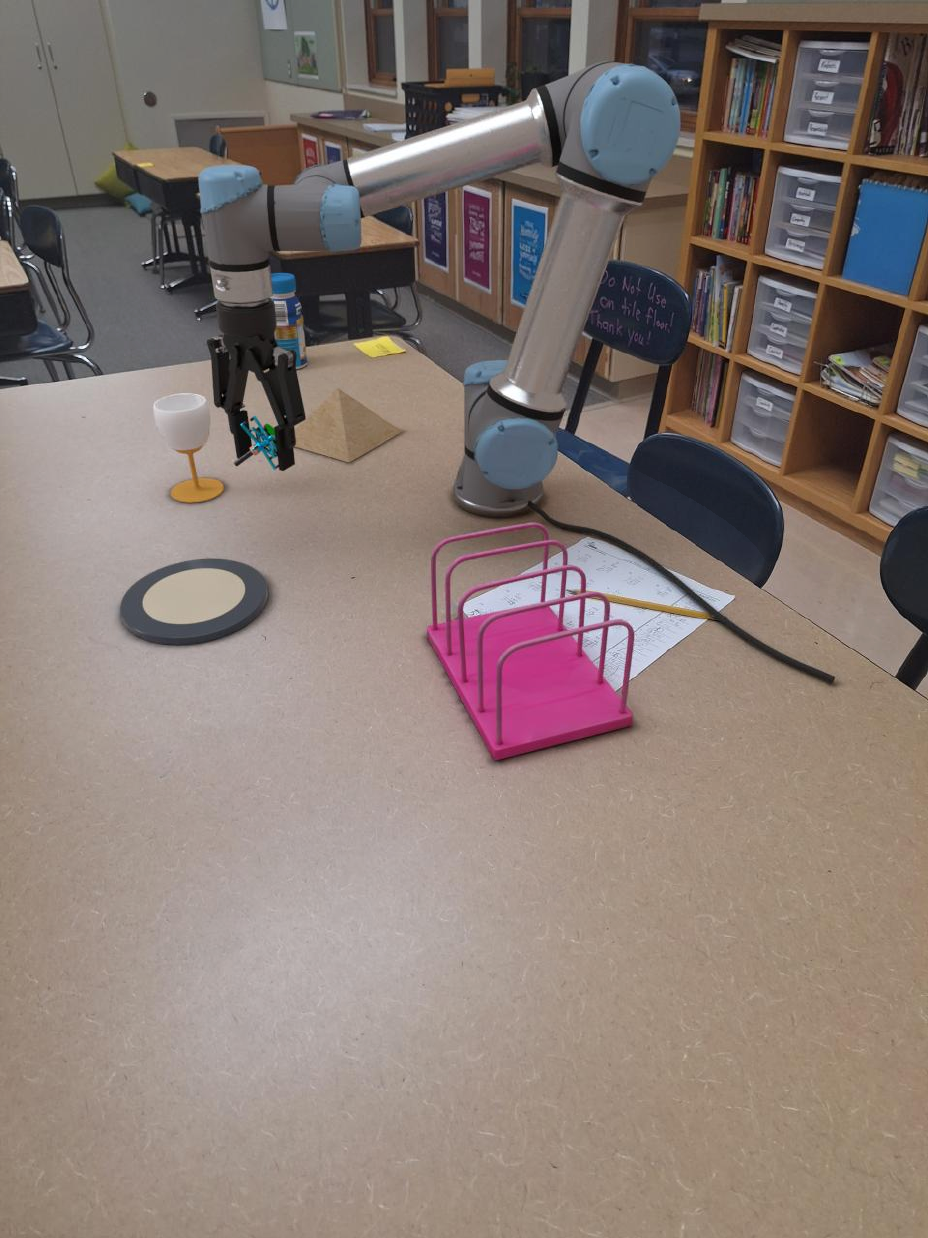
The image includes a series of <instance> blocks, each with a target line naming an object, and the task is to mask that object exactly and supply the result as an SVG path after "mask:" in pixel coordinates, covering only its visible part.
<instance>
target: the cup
mask: <svg viewBox="0 0 928 1238" xmlns="http://www.w3.org/2000/svg"><path fill="white" fill-rule="evenodd" d="M152 409H153V419H154V422H155V425H156V429H157V431H158V432H159V433H160V436H161V438H162V439H163V440H164V442H165V444H167V446H168V447H170V449H172V450H174V451H175V452H177V453H179V454H181V455H182V454H184V455H187V458H188V463H189V467H190V473H191V477H192V479H188V480H184V481H182V482H180V483H177V484H176V485H175V486H173V487H172V489H170V496H171V497H172V498H173V500H175V501H178V502H180V503H187V504H197V503H205V502H206V501H211V500H213V499H215V498H217V497H219V496H221V494H222V493H223V492H224V490H225V485H224V483H223V482H222V481H220V480H217V479H214V478H208V477H207V478H206V477H200V478H199V477H198V473H197V469H196V463H195V458H194V454H195V453H197V452H199V451H201V449H202V448H203V447H204V446H205V445H207V442H208V440H209V437H210V430H211V410H210V407H209V404H208V401H207V398H205V397H204V396H203V395H200V394H197V393H189V392H184V393H175V394H170V395H166V396H163V397H159V398H158V399H157V400H156V401H154V403H153V407H152Z"/></svg>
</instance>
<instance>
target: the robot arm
mask: <svg viewBox="0 0 928 1238" xmlns="http://www.w3.org/2000/svg"><path fill="white" fill-rule="evenodd" d="M681 121H682V120H681V111H680V106H679V103H678V99H677V97H676V95H675V92H674V91H673V89H672V88H671V86H670V85H669V84H668V82H667V81H666V80H664V78H662V77H661V76H660V75H659V74H657V72H656V71H653V70H651V69H649V68H648V67H646V66H645V65H639V64H634V63H625V62H621V61H617V60H606V61H605V60H604V61H601V62H595V63H593V64H591V65H588V66H586V67H584V68H582V69H580V70H578V71H575V72H573V73H570V74H569V75H567V76H563V77H561V78H559V79H557V80H554V81H552V82H549V83H546V84H544V85H541V86H538V87H535V88H532V89H531V91H530V92H529V95H527V97H526V100H524V101H520V102H517V103H514V104H511V105H508V106H504V107H502V108H499V109H496V110H492V111H489V112H486V113H482V114H480V115H477V116H474V117H471V118H467V119H465V120H461V121H459V122H455V123H452V124H449V125H445V126H443V127H440V128H437V129H433V130H430V131H427V132H424V133H421V134H418V135H414V136H411V137H409V138H406V139H402V140H400V141H397V142H394V143H390V144H387V145H384V146H381V147H378V148H375V149H371V150H369V151H367V152H363V153H359V154H357V155H353V156H351V157H347V158H346V159H342V160H339V161H335V162H331V163H329V164H326V165H325V164H315V165H312V166H309V167H307V168H305V169H303V170H302V172H300V174H298V175H297V176H296V178H295V180H294V182H293V184H291V185H290V184H289V185H288V184H287V185H274V184H272V185H270V184H263V180H262V178H261V173H260V171H259V170H258V169H257V168H256V167H255V166H251V165H246V164H245V165H241V164H220V165H212V166H208V167H205V168H204V169H203V170H201V172H200V173H199V175H198V178H197V180H198V189H199V199H200V201H199V202H200V209H199V210H200V215H201V220H202V224H203V225H202V226H203V231H204V237H205V242H206V249H207V255H208V262H209V268H210V274H211V276H210V277H211V281H212V288H213V293H214V298H215V299H216V300H217V302H216V304H215V310H216V311H215V312H216V317H217V322H218V329H219V331H220V332H221V333H222V334H219V335H216V336H214V337H211V338H209V339H207V340H206V346H207V348H208V351H209V354H210V362H211V378H212V380H211V381H212V393H213V404H214V406H215V407H216V408H217V409H219V408H221V409H223V411H224V413H225V414H226V415H227V420H228V426H229V431H230V434H231V435H232V436H233V441H234V449H235V454H236V459H239V458H240V457H241V456H243V455H244V454H245V453H247V452H248V451H250V447H251V446H253V443H252V442H253V441H252V438H251V437H250V436H249V435H248V434H247V432H246V431H245V430H244V429H243V428H242V427H241V424H242V423H243V422H244V421H246V422H247V424H245V426H246V427H247V428H248V430H250V429H251V427H250V421H249V420H250V419H249V414H248V410H246V409H245V410H244V408H245V407H246V405H245V403H244V400H245V393H246V388H247V382H248V378H249V377H248V376H249V372H251V373H254V376H255V378H256V381H258V382H260V383H261V385H262V388H263V391H264V393H265V396H266V398H267V400H268V403H269V405H270V407H271V410H272V413H273V415H274V417H275V421H276V423H277V425H276V426H273V428H274V432H275V440H276V448H277V457H276V458H277V465H279V467H278V471H281V472H284V471H287V470H288V469H290V468H291V467H293V466H295V465H296V458H295V451H294V447H295V445H296V437H295V429H296V428H295V427H296V426H297V425H298V424H299V425H300V424H302V423H303V422H304V421H305V420H306V419H307V416H306V412H305V406H304V402H303V397H302V392H301V387H300V381H299V377H298V372H297V369H296V358H297V354H296V352H295V351H294V350H289V351H286V350H283V349H281V348H279V346H278V343H277V341H276V339H275V336H274V333H275V329H276V326H277V323H276V314H275V305H274V301H273V300H272V299H271V298H270V297H272V296H273V294H274V293H273V286H272V278H271V274H272V271H271V264H270V263H271V262H270V257H269V256H270V254H269V252H331V253H333V254H335V253H338V252H345V251H346V252H347V251H356V250H358V249H359V248H360V247H361V245H362V219H364V218H367V217H370V216H373V215H376V214H380V213H382V212H385V211H386V212H387V211H389V210H393V209H395V208H398V207H399V208H400V207H403V206H405V205H408V204H411V203H415V202H418V201H421V200H424V199H427V198H430V197H434V196H437V195H440V194H443V193H446V192H450V191H453V190H456V189H459V188H462V187H463V188H464V187H466V186H469V185H472V184H475V183H478V182H482V181H485V180H488V179H492V178H494V177H495V178H496V177H498V176H502V175H504V174H507V173H511V172H514V171H517V170H520V169H524V168H526V167H530V166H533V165H536V164H541V165H543V166H545V167H546V168H548V169H551V168H555V167H556V170H555V174H554V175H555V178H556V180H557V182H558V185H559V187H560V191H561V192H560V193H561V194H560V197H559V200H558V204H557V206H556V210H555V213H554V216H553V219H552V222H551V225H550V227H549V231H548V234H547V237H546V241H545V244H544V247H543V250H542V253H541V256H540V259H539V262H538V265H537V267H536V270H535V271H536V272H535V275H534V278H533V280H532V284H531V287H530V290H529V293H528V296H527V299H526V303H525V305H524V308H523V312H522V315H521V316H520V317H521V318H520V320H519V324H518V327H517V330H516V333H515V336H514V339H513V343H512V345H511V349H510V352H509V355H508V358H507V359H492V360H483V361H479V362H475V363H472V364H470V365H469V366H467V368H465V371H464V377H463V383H462V386H463V391H464V393H463V394H464V395H463V396H464V399H463V402H464V403H463V405H464V408H463V409H464V411H463V414H464V416H463V417H464V418H463V419H464V421H463V423H464V424H463V425H464V427H463V428H464V429H463V431H464V433H463V434H464V435H463V437H464V438H463V439H464V442H463V446H464V449H463V450H464V452H463V453H464V454H463V457H462V460H461V463H460V465H459V468H458V471H457V474H456V478H455V481H454V483H453V500H454V501H455V503H456V504H457V505H458V506H459V507H460V508H461V509H462V510H464V511H467V512H469V513H471V514H473V515H477V516H482V517H489V518H510V517H517V516H522V515H525V514H528V513H530V512H532V511H535V512H536V513H537V514H538V515H539V516H540V517H542V518H543V520H544V521H546V522H547V523H549V524H550V525H553V526H555V527H557V528H560V529H564V530H568V531H573V532H579V533H585V534H589V535H590V534H591V535H594V536H597V537H600V538H602V539H605V540H607V541H610V542H612V543H614V544H616V545H618V546H619V547H621V548H623V549H625V550H627V551H628V552H630V553H632V554H633V555H635V556H637V557H638V558H640V559H642V560H643V561H645V562H646V563H648V564H649V565H651V567H653V568H654V569H656V570H658V572H660V573H661V574H662V575H663V576H665V577H666V578H667V579H669V580H670V581H671V582H673V583H674V584H675V585H676V586H677V587H678V588H680V590H682V591H683V592H684V593H685V594H686V595H688V596H689V597H690V598H691V599H692V600H693V601H695V602H696V603H697V604H698V605H700V606H701V607H702V608H703V609H704V610H706V611H707V612H708V613H709V614H710V615H712V617H714V618H715V619H716V620H718V621H719V622H720V623H721V624H723V625H724V626H725V627H726V628H727V629H729V630H731V631H732V632H734V633H735V634H736V635H738V636H739V637H741V638H742V639H743V640H745V641H747V642H748V643H750V644H751V645H752V646H754V647H756V648H758V649H759V650H762V651H763V652H765V653H767V654H769V655H770V656H772V657H774V658H775V659H778V660H779V661H781V662H783V663H785V664H788V665H790V666H792V667H794V668H795V669H799V670H801V671H802V672H805V673H808V674H810V675H812V676H815V677H818V678H819V679H821V680H823V681H824V680H825V681H827V682H829V683H833V682H834V681H835V679H836V676H834V675H832V674H830V673H828V672H825V671H822V670H821V669H818V668H816V667H813V666H811V665H808V664H806V663H804V662H801V661H800V660H797V659H795V658H793V657H790V656H788V655H787V654H784V653H782V652H780V651H779V650H777V649H775V648H773V647H771V646H770V645H768V644H766V643H764V642H762V641H761V640H759V639H758V638H756V637H754V636H753V635H752V634H750V633H748V632H747V631H745V630H744V629H742V628H741V627H739V625H736V624H735V623H734V622H733V621H731V620H730V619H728V618H727V617H725V616H724V615H723V613H721V612H719V611H718V610H717V609H716V608H714V607H713V606H712V605H711V604H709V603H708V602H707V601H706V600H705V599H704V598H702V597H701V596H700V595H699V594H698V593H696V592H695V591H694V590H693V589H691V588H690V587H689V586H688V585H687V584H686V583H685V582H684V581H682V580H681V579H680V578H679V577H678V576H676V575H675V574H674V573H673V572H671V571H670V570H669V569H667V568H666V567H664V565H662V564H660V563H659V562H658V561H656V560H655V559H654V558H653V557H651V556H649V555H648V554H647V553H644V551H642V550H639V549H638V548H636V547H634V546H632V545H631V544H629V543H627V542H626V541H624V540H622V539H620V538H618V537H616V536H614V535H611V534H609V533H607V532H604V531H602V530H598V529H595V528H591V527H588V526H587V527H586V526H580V525H575V524H574V525H573V524H569V523H564V522H561V521H558V520H556V519H555V518H552V517H551V516H550V515H549V514H548V513H546V511H544V510H543V509H542V508H541V507H539V506H540V505H541V504H542V502H543V500H544V484H543V481H544V480H545V479H547V477H548V476H550V474H551V473H552V471H553V469H554V468H555V466H556V464H557V460H558V455H559V453H558V451H559V449H558V447H559V442H558V440H557V437H556V436H557V434H558V431H559V428H560V426H561V423H562V420H563V418H564V414H565V412H566V410H567V407H568V402H567V400H566V398H565V396H564V394H563V391H562V390H563V387H564V384H565V381H566V379H567V376H568V373H569V371H570V368H571V366H572V362H573V360H574V357H575V354H576V352H577V349H578V346H579V343H580V340H581V338H582V335H583V331H584V330H585V327H586V324H587V321H588V318H589V316H590V314H591V311H592V308H593V304H594V302H595V299H596V297H597V294H598V292H599V289H600V286H601V284H602V281H603V278H604V275H605V272H606V269H607V267H608V265H609V262H610V259H611V255H612V253H613V250H614V248H615V245H616V242H617V239H618V236H619V234H620V231H621V229H622V226H623V223H624V221H625V217H626V215H628V214H629V213H631V212H633V211H634V210H636V209H637V208H640V207H641V206H642V205H643V203H644V200H645V197H646V195H647V194H648V193H647V192H648V190H649V187H650V185H651V183H652V180H653V178H654V177H655V176H656V175H657V174H659V173H660V172H661V171H662V170H663V169H664V168H665V167H666V165H667V164H668V162H670V160H671V158H672V157H673V155H674V152H675V150H676V148H677V145H678V142H679V138H680V133H681ZM275 358H276V360H275ZM241 409H242V410H241Z"/></svg>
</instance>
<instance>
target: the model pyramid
mask: <svg viewBox="0 0 928 1238" xmlns="http://www.w3.org/2000/svg"><path fill="white" fill-rule="evenodd" d="M402 432H403V431H402V430H400V429H399V428H398V427H396V426H394V425H393V424H392V423H391V422H389V421H388V420H386V419H385V418H383V417H382V416H380V415H379V414H377V413H376V412H374V411H372V410H371V409H370V408H368V407H367V406H365V405H364V404H363V403H361V402H360V401H358V400H357V399H355V398H354V397H352V395H351V396H350V395H349V394H348V393H346V392H345V391H344V390H342V389H341V388H339V387H337V389H335V390H334V391H333V392H332V393H331V394H330V395H329V396H328V397H327V398H326V399H325V400H324V401H323V402H322V403H321V404H320V405H319V406H318V407H317V408H316V409H314V411H312V413H311V414H310V415H309V416H307V417H306V419H305V420H304V421H302V422H301V423H299V425H298V426H297V427H296V428H295V437H296V445H295V446H294V447H295V448H298V449H302V450H305V451H309V452H312V453H315V454H319V455H323V456H326V457H329V458H333V459H336V460H340V461H343V462H346V463H351V462H353V461H354V460H356V459H358V458H360V457H362V456H363V455H365V454H367V453H368V452H370V451H372V450H373V449H375V448H377V447H378V446H380V445H382V444H384V443H385V442H387V441H389V440H391V439H392V438H394V437H396V436H398V435H399V434H401V433H402Z"/></svg>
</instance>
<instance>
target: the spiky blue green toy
mask: <svg viewBox="0 0 928 1238" xmlns="http://www.w3.org/2000/svg"><path fill="white" fill-rule="evenodd" d="M249 420H250V421H249V422H253V421H254V423H255V424H256V425H257V427H254V426H252V427H250V430H248V428H247V427H246V426H245V424H247V422H246V421H244V422H243V423H242V424H241V427H242V428H243V429H244V430H245V431H246V432H247V434H248V435H249V436H250V437H251V440H252V441H253V442H254V443H255V444H252V446H251V447H250V451H248V452H247V453H245V454H244V455H243V456H241V457H240V458H239V459H238V458H236V460H235V461H233V465H234V466H235V467H239V466H240V465H241V464H243V463H244V462H246V461H247V460H249V458H251V457H252V456H258V455H259V454H260V453H261V452H262V454H263V456H264V457H265V459H266V460H267V462H268V463H269V465H270V466H271V469H272V470H273V471H276V470H277V469H279V465H278V464H277V465H275V464H274V462H273V459H274V458H275V459H277V458H278V457H277V448H276V440H275V432H274V426H272V425H271V424H269V423H264V424H263V425H262V423H261V422H260V421H259V419H258V417H257V416H256V415H254V416H252V417H250V418H249ZM252 432H254V433H252ZM254 434H255V435H254Z"/></svg>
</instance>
